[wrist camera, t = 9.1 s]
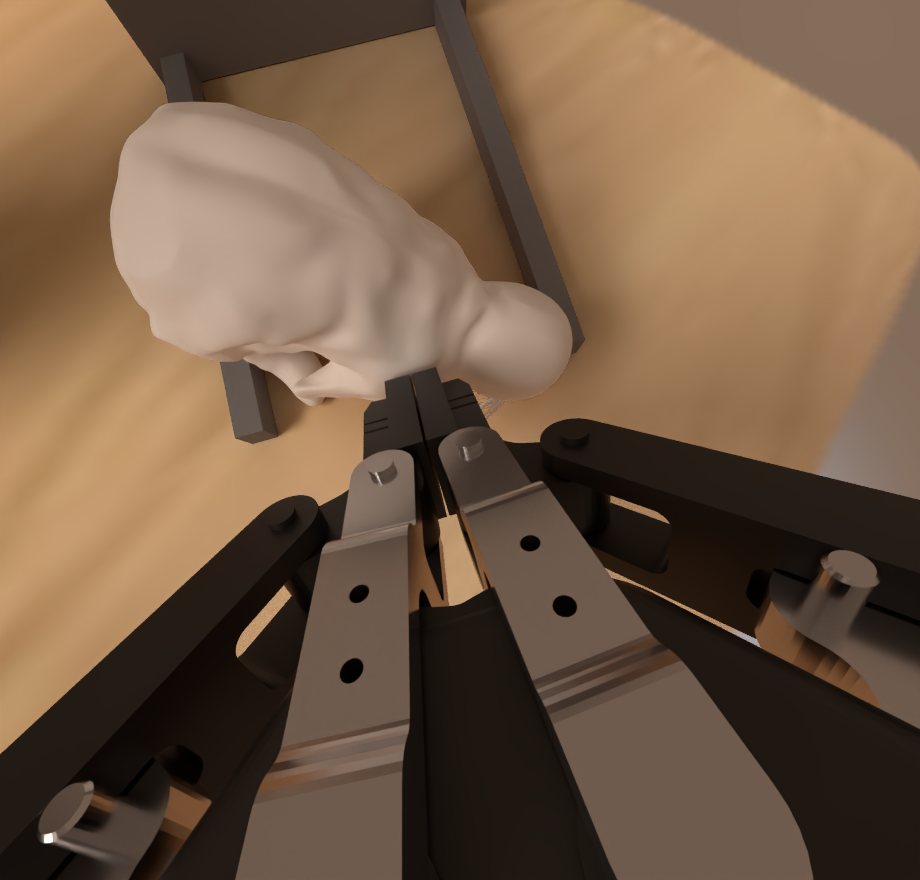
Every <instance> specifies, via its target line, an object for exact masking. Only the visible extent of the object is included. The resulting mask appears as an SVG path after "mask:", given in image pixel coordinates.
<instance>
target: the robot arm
mask: <svg viewBox="0 0 920 880" xmlns="http://www.w3.org/2000/svg"><path fill="white" fill-rule="evenodd" d="M412 378H413V383H414V387H415V390H414V387H413V384H412V381H411V378H410V375H405V376H401V377H398V378H394V379H390V380H387V381H385V394H386V398H385V399H382V400H378V401H375V402H371V404H370V405H369V407H368V408H367V410H366V411H365V413H364V454H363V461H362V462H361V463H360V464H359V465H358V466H357V467H356V468H355V469H354V471H353V473H352V476H351V481H350V487H349V490H348V491H346V492H345V493H343V494H342V495H340V496H338V497H336V498H334V499H333V500H331V501H329V502H327V503H325V504H323V505H321V506H318V504H317V502H316V501H315V500H314V499H313V498H312V497H309V496H305V495H297V496H291V497H288V498H285V499H282V500H280V501H278V502H276V503H274V504H272V505H271V506H269V507H268V508H266V509H265V510H264V511H263V512H262V513H260V514H259V515H258V516H257V517H256V518H255V519H254V520H253V521H252V522H251V523H250V524H249V525H247V526H246V527H245V528H244V529H243V530H242V531H241V532H240V533H239V534H238V535H237V536H236V537H235V538H233V539H232V540H231V541H230V542H229V543H228V544H227V545H226V546H225V547H224V548H223V549H222V550H220V551H219V552H218V553H217V554H216V555H215V556H214V557H213V558H212V559H211V560H210V561H209V562H208V563H206V564H205V565H204V566H203V567H202V568H201V569H200V570H199V571H198V572H197V573H196V574H195V575H193V576H192V577H191V578H190V579H189V580H188V581H187V582H186V583H185V584H184V585H183V586H182V587H181V588H179V589H178V590H177V591H176V592H175V593H174V594H173V595H172V596H171V597H170V598H169V599H168V600H166V601H165V602H164V603H163V604H162V605H161V606H160V607H159V608H158V609H157V610H156V611H155V612H153V613H152V614H151V615H150V616H149V617H148V618H147V619H146V620H145V621H144V622H143V623H142V624H141V625H139V626H138V627H137V628H136V629H135V630H134V631H133V632H132V633H131V634H130V635H129V636H128V637H126V638H125V639H124V640H123V641H122V642H121V643H120V644H119V645H118V646H117V647H116V648H115V649H114V650H112V651H111V652H110V653H109V654H108V655H107V656H106V657H105V658H104V659H103V660H102V661H101V662H99V663H98V664H97V665H96V666H95V667H94V668H93V669H92V670H91V671H90V672H89V673H88V674H87V675H85V676H84V677H83V678H82V679H81V680H80V681H79V682H78V683H77V684H76V685H75V686H74V687H72V688H71V689H70V690H69V691H68V692H67V693H66V694H65V695H64V696H63V697H62V698H61V699H60V700H58V701H57V702H56V703H55V704H54V705H53V706H52V707H51V708H50V709H49V710H48V711H47V712H45V713H44V714H43V715H42V716H41V717H40V718H39V719H38V720H37V721H36V722H35V723H34V724H33V725H31V726H30V727H29V728H28V729H27V730H26V731H25V732H24V733H23V734H22V735H21V736H20V737H18V738H17V739H16V740H15V741H14V742H13V743H12V744H11V745H10V746H9V747H8V748H7V749H6V750H4V751H3V752H2V753H1V754H0V880H920V500H918V499H913V498H909V497H905V496H901V495H897V494H893V493H889V492H885V491H881V490H877V489H873V488H868V487H864V486H860V485H856V484H852V483H848V482H844V481H840V480H835V479H831V478H827V477H823V476H819V475H815V474H811V473H807V472H803V471H799V470H794V469H790V468H786V467H782V466H778V465H774V464H770V463H766V462H762V461H757V460H753V459H749V458H745V457H741V456H737V455H733V454H729V453H725V452H720V451H716V450H712V449H708V448H704V447H700V446H696V445H692V444H688V443H683V442H679V441H675V440H671V439H667V438H663V437H659V436H655V435H651V434H646V433H642V432H638V431H634V430H630V429H626V428H622V427H618V426H613V425H609V424H605V423H601V422H597V421H593V420H588V419H580V418H577V419H566V420H562V421H559V422H556V423H554V424H552V425H550V426H549V427H547V428H546V429H545V430H544V431H543V433H542V435H541V438H540V442H535V443H512V442H507V441H504V440H502V438H501V437H500V435H499V434H498V433H497V432H496V431H494V430H492V429H490V427H489V425H488V423H487V420H486V418H485V416H484V414H483V412H482V410H481V408H480V406H479V404H478V402H477V400H476V397H475V395H474V393H473V391H472V389H471V387H470V385H469V384H468V383H466V382H464V381H462V380H461V379H459V378H457V379H454V380H450V381H447V382H443V383H441V380H440V377H439V374H438V371H437V368H436V367H434V368H430V369H427V370H423V371H419V372H416V373H412ZM415 392H416V394H415ZM416 396H417V397H416ZM439 483H440V485H439ZM440 486H441V489H442V493H443V496H444V499H445V502H446V505H447V509H448V512H449V515H454V514H457V517H458V520H459V524H460V527H461V530H462V534H463V537H464V540H465V543H466V546H467V548H468V551H469V554H470V557H471V559H472V562H473V565H474V567H475V570H476V573H477V575H478V578H479V581H480V583H481V586H482V589H483V592H481V593H479V594H478V595H476V596H474V597H472V598H471V599H469V600H467V601H465V602H464V603H461V604H459V605H455V606H449V601H448V592H447V582H446V573H445V563H444V553H443V545H442V541H441V538H440V527H439V522H438V519H441V518H444V517H447V515H446V510H445V506H444V502H443V497H442V493H441V489H440ZM610 495H611V496H614V497H617V498H620V499H623V500H625V501H628V502H631V503H634V504H637V505H640V506H642V507H645V508H648V509H651V510H654V511H656V512H658V513H660V514H661V515H662V516H664V517H665V518H666V519H667V520H668V521H669V523H670V524H668V523H665V522H662V521H660V520H657V519H654V518H651V517H649V516H646V515H643V514H640V513H638V512H635V511H632V510H629V509H627V508H624V507H621V506H618V505H616V504H613V503H610ZM605 568H607V569H609V570H611V571H613V572H615V573H617V574H619V575H621V576H624V577H626V578H628V579H630V580H632V581H634V582H636V583H638V584H641V585H643V586H645V587H647V588H649V589H651V590H653V591H655V592H658V593H660V594H662V595H664V596H666V597H668V598H670V599H672V600H675V601H677V602H679V603H681V604H683V605H685V606H687V607H689V608H692V609H694V610H696V611H698V612H700V613H702V614H704V615H706V616H709V617H711V618H713V619H715V620H717V621H719V622H721V623H723V624H726V625H728V626H730V627H732V628H734V629H736V630H738V631H740V632H743V633H745V634H747V635H749V636H751V637H754V638H755V639H757V640H758V643H759V645H760V647H761V648H760V647H758V646H756V645H754V644H752V643H750V642H748V641H746V640H744V639H742V638H740V637H738V636H736V635H734V634H732V633H730V632H728V631H726V630H724V629H723V628H721V627H719V626H717V625H715V624H713V623H711V622H709V621H707V620H705V619H703V618H701V617H699V616H697V615H695V614H693V613H691V612H689V611H687V610H685V609H683V608H681V607H679V606H677V605H675V604H673V603H671V602H669V601H668V600H666V599H664V598H662V597H660V596H658V595H656V594H654V593H652V592H650V591H648V590H645V589H643V588H641V587H638V586H636V585H633V584H631V583H628V582H625V581H621V580H617V579H613V578H611V576H610V575H609V573H608V572H607V571H606V569H605ZM283 585H284V586H285V587H286V589H287V590H288V591H289V593H290V594H291V595H292V596H291V597H290V599H289V600H288V601H287V602H286V603H285V605H284V606H283V607H282V608H281V609H280V610H279V612H278V613H277V614H276V615H275V616H274V618H273V619H272V620H271V621H270V622H269V623H268V625H267V626H266V627H265V628H264V629H263V630H262V632H261V633H260V634H259V635H258V636H257V638H256V639H255V640H254V641H253V642H252V643H251V645H250V646H249V647H248V648H247V649H246V651H245V652H244V653H243V654H242V655H240V656H239V657H238V658H237V656H236V645H237V642H238V639H239V637H240V635H241V634H242V632H243V631H244V630H245V628H246V627H247V626H248V625H249V624H250V623H251V622H252V620H253V619H254V618H255V617H256V616H257V615H258V614H259V613H260V611H261V610H262V609H263V608H264V607H265V606H266V605H267V604H268V602H269V601H270V600H271V599H272V598H273V597H274V596H275V594H276V593H277V592H278V591H279V590H280V589H281V588H282V587H283Z"/></svg>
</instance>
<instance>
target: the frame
mask: <svg viewBox="0 0 920 880" xmlns="http://www.w3.org/2000/svg"><path fill="white" fill-rule="evenodd" d="M106 1H107V3H108V4H109V6H110V7H111V9H112V10H113V12H114V13H115V14H116V16H117V17H118V19H119V20H120V22H121V23H122V24H123V26H124V27H125V29H126V30H127V32H128V33H129V35H130V36H131V37H132V39H133V40H134V42H135V43H136V45H137V46H138V48H139V49H140V50H141V52H142V53H143V55H144V56H145V58H146V59H147V60H148V62H149V63H150V65H151V66H152V68H153V69H154V71H155V72H156V73H157V75H158V76H159V78H160V79H161V81H162V82H163V83H164V85H165V88H166V93H167V98H168V103H176V102H205V99H204V95H203V90H202V85H201V82H202V81H206V80H210V79H214V78H218V77H222V76H226V75H230V74H235V73H239V72H243V71H247V70H251V69H255V68H259V67H263V66H268V65H272V64H276V63H280V62H284V61H288V60H292V59H296V58H301V57H305V56H309V55H313V54H317V53H321V52H325V51H329V50H334V49H338V48H342V47H346V46H350V45H354V44H358V43H362V42H367V41H371V40H375V39H379V38H383V37H387V36H391V35H395V34H400V33H404V32H408V31H412V30H416V29H420V28H424V27H428V26H432V25H435V26H436V29H437V32H438V35H439V38H440V41H441V43H442V46H443V49H444V52H445V55H446V58H447V61H448V63H449V66H450V69H451V72H452V75H453V78H454V81H455V83H456V86H457V89H458V92H459V95H460V98H461V101H462V103H463V106H464V109H465V112H466V115H467V118H468V121H469V123H470V126H471V129H472V132H473V135H474V138H475V141H476V143H477V146H478V149H479V152H480V155H481V158H482V161H483V163H484V166H485V169H486V172H487V175H488V178H489V181H490V183H491V186H492V189H493V192H494V195H495V198H496V201H497V203H498V206H499V209H500V212H501V215H502V218H503V221H504V223H505V226H506V229H507V232H508V235H509V238H510V241H511V243H512V246H513V249H514V252H515V255H516V258H517V261H518V263H519V266H520V269H521V272H522V275H523V278H524V281H525V283H526V286H529V287H531V288H534V289H536V290H538V291H540V292H542V293H543V294H545V295H547V296H548V297H550V298H551V299H552V300H554V301H555V302H556V303H557V304H558V305H559V307H560V308H561V309H562V310H563V312H564V313H565V315H566V316H567V318H568V321H569V323H570V326H571V331H572V350H571V353H575V352H577V350H578V349H579V347H580V346H581V344H582V343H583V342H584V340H585V338H584V336H583V333H582V330H581V328H580V325H579V322H578V319H577V317H576V314H575V311H574V308H573V306H572V303H571V300H570V298H569V295H568V292H567V289H566V287H565V284H564V281H563V279H562V276H561V273H560V270H559V268H558V265H557V262H556V260H555V257H554V254H553V251H552V249H551V246H550V243H549V241H548V238H547V235H546V232H545V230H544V227H543V224H542V222H541V219H540V216H539V213H538V211H537V208H536V205H535V203H534V200H533V197H532V194H531V192H530V189H529V186H528V184H527V181H526V178H525V175H524V173H523V170H522V167H521V165H520V162H519V159H518V156H517V154H516V151H515V148H514V146H513V143H512V140H511V137H510V135H509V132H508V129H507V127H506V124H505V121H504V118H503V116H502V113H501V110H500V107H499V105H498V102H497V99H496V97H495V94H494V91H493V88H492V86H491V83H490V80H489V78H488V75H487V72H486V69H485V67H484V64H483V61H482V59H481V56H480V53H479V50H478V48H477V45H476V42H475V40H474V37H473V34H472V31H471V29H470V26H469V23H468V21H467V18H466V0H106ZM220 365H221V370H222V375H223V380H224V385H225V390H226V395H227V400H228V405H229V410H230V415H231V420H232V425H233V430H234V435H235V438H236V439H239V440H242V441H245V442H248V443H251V444H253V443H257V442H260V441H264V440H267V439H271V438H275V437H278V435H277V430H276V425H275V421H274V416H273V412H272V407H271V402H270V398H269V393H268V389H267V384H266V379H265V375H264V370H263V369H261V368H259V367H257V366H256V365H255V364H252V363H249V362H247V361H245V360H244V359H241V360H239V361H235V362H220Z"/></svg>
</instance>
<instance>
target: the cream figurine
mask: <svg viewBox="0 0 920 880" xmlns="http://www.w3.org/2000/svg"><path fill="white" fill-rule="evenodd" d="M110 228H111V237H112V244H113V251H114V257H115V261H116V265H117V267H118V270H119V272H120V274H121V276H122V277H123V279H124V281H125V282H126V284H127V285H128V287H129V288H130V290H131V292H132V295H133V297H134V298H135V300H136V302H137V303H138V304H139V305H140V306H141V307H142V308H144V309H145V310H146V311H147V313H148V314H149V317H150V327H151V331H152V333H153V335H154V336H155V337H157V338H159V339H161V340H163V341H166V342H169V343H171V344H173V345H175V346H176V347H178V348H180V349H182V350H184V351H186V352H188V353H191V354H193V355H197V356H201V357H203V358H206V359H209V360H212V361H219V362H235V361H239V360H241V359H244V360H245V361H247V362H249V363H252V364H255V365H256V366H257V367H259V368H261V369H263V370H265V371H269V372H271V373H273V374H274V375H275V376H277V377H278V378H279V379H281V380H282V381H283V382H284V383H285V384H286V385H287V386H288V387H289V388H290V390H291V391H292V392H293V393H294V395H295V396H296V397H297V398H298V399H300V400H301V401H302V402H304V403H305V404H307V405H309V406H318V405H320V404H321V403H322V402H323V400H324V398H325V397H334V398H362V399H367V400H371V401H378V400H382V399H385V398H386V394H385V381H387V380H390V379H394V378H398V377H401V376H405V375H410V378H411V381H412V384H413V387H414V383H413V378H412V373H416V372H419V371H423V370H427V369H430V368H434V367H436V368H437V371H438V374H439V377H440V380H441V383H443V382H447V381H450V380H454V379H457V378H459V379H461V380H462V381H464V382H466V383H468V384H469V385H470V387H471V389H472V390H474V391H476V392H477V393H478V394H479V395H480V394H482V395H484V396H487V397H488V398H489V399H487V400H486V401H485V402H483V403H482V404H481V405H480V408H481V410H482V409H483V408H485V407H486V406H488V405H489V404H490V403H492V402H493V401H494V402H493V403H492V404H491V405H490V406H489V407H488V408H489V409H488V410H487V412H486V413H485V414H484V416H485V415H487V414H488V413H489V412H490V411H491V410H492V411H491V412H490V413H489V415H488V416H487V417H486V420H487V419H488V418H489V417H490V416H491V415H492V414H493V413H494V412H496V411H497V410H498V409H499V408H500V407H501V406H502V405H503V403H504V401H519V400H525V399H529V398H533V397H535V396H537V395H539V394H541V393H543V392H544V391H546V390H547V389H548V388H550V387H551V386H552V385H553V384H554V383H555V382H556V381H557V380H558V378H559V377H560V376H561V375H562V373H563V372H564V370H565V368H566V366H567V364H568V362H569V359H570V355H571V350H572V331H571V326H570V323H569V321H568V318H567V316H566V315H565V313H564V312H563V310H562V309H561V308H560V307H559V305H558V304H557V303H556V302H555V301H554V300H552V299H551V298H550V297H548V296H547V295H545V294H543V293H542V292H540V291H538V290H536V289H534V288H531V287H529V286H526V285H523V284H519V283H514V282H501V281H483V280H481V279H480V278H479V277H478V275H477V273H476V271H475V269H474V268H473V266H472V265H471V263H470V262H469V261H468V259H467V257H466V256H465V253H464V251H463V249H462V248H461V246H460V245H459V244H458V242H457V241H456V240H455V239H454V238H452V237H451V236H450V235H448V234H447V233H446V232H445V231H443V230H442V229H441V228H440V227H439V226H437V225H436V224H434V223H433V222H431V221H430V220H428V219H426V218H423V217H421V216H419V215H418V214H417V213H416V212H415V210H414V209H413V208H412V207H411V206H410V205H409V204H408V203H407V201H406V200H404V199H403V198H402V197H401V196H400V195H398V194H397V193H395V192H393V191H392V190H390V189H388V188H386V187H384V186H382V185H380V184H379V183H378V182H377V181H376V180H375V179H374V178H373V177H372V176H371V175H370V174H369V173H368V172H367V171H365V170H364V169H363V168H362V167H360V166H358V165H357V164H355V163H353V162H352V161H350V160H348V159H346V158H345V157H343V156H342V155H340V154H339V153H337V152H336V151H334V150H333V149H332V148H330V147H329V146H327V145H326V144H325V143H324V142H323V141H322V140H321V139H320V138H319V137H318V136H316V135H315V134H314V133H313V132H311V131H310V130H308V129H307V128H305V127H303V126H301V125H299V124H296V123H293V122H288V121H282V120H278V119H273V118H270V117H267V116H264V115H261V114H258V113H255V112H252V111H249V110H247V109H244V108H241V107H238V106H235V105H232V104H228V103H215V102H176V103H167V104H164V105H162V106H160V107H159V108H157V109H156V110H155V111H154V113H153V114H152V115H151V116H150V118H149V119H148V120H147V121H146V122H145V123H144V124H142V125H141V126H140V127H139V128H138V129H136V130H135V131H134V132H133V133H132V134H131V135H130V136H129V137H128V139H127V140H126V142H125V145H124V147H123V149H122V152H121V156H120V162H119V172H118V179H117V183H116V186H115V191H114V195H113V200H112V205H111V211H110ZM314 352H316V353H318V354H320V355H322V356H324V357H325V358H327V359H329V360H330V362H329V363H328V364H327V365H325V366H323V367H322V365H321V363H320V361H319V359H318V358H317V356H316V355H315V353H314ZM414 390H415V387H414ZM415 394H416V392H415ZM476 398H477V397H476ZM481 399H484V398H481ZM479 400H480V399H479ZM478 404H480V403H478Z"/></svg>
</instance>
